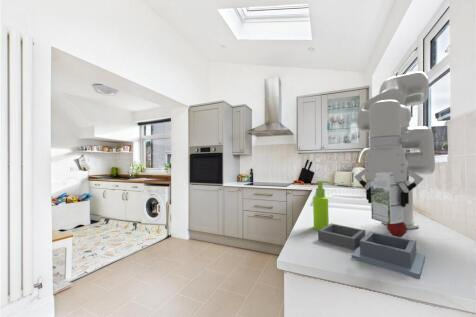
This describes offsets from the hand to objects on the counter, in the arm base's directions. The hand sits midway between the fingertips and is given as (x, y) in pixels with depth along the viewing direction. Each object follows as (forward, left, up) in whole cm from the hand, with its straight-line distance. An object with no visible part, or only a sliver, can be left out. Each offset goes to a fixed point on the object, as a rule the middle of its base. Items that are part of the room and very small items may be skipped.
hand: (386, 203), depth 60 cm
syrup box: (0, 0, -5) cm, 5 cm away
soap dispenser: (-13, -25, -16) cm, 32 cm away
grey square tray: (-5, -15, -16) cm, 22 cm away
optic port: (0, 0, -16) cm, 16 cm away
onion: (-21, -1, -16) cm, 26 cm away
